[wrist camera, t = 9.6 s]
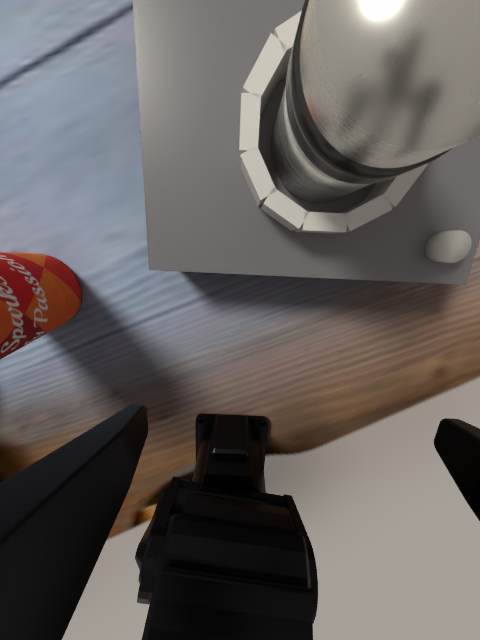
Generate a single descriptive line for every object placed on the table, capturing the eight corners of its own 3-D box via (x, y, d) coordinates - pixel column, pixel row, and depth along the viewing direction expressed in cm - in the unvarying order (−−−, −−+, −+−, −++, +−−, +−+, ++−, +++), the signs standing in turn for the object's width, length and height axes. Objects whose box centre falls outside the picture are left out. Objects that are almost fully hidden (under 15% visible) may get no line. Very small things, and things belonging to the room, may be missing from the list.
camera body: (409, 274, 19) (499, 291, 12) (172, 262, 19) (134, 274, 12) (462, 57, 15) (633, -86, 9) (165, 43, 15) (104, -113, 9)
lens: (368, 207, 13) (541, 160, 6) (265, 202, 13) (297, 149, 6) (390, 79, 12) (678, -236, 4) (273, 74, 12) (334, -251, 4)
